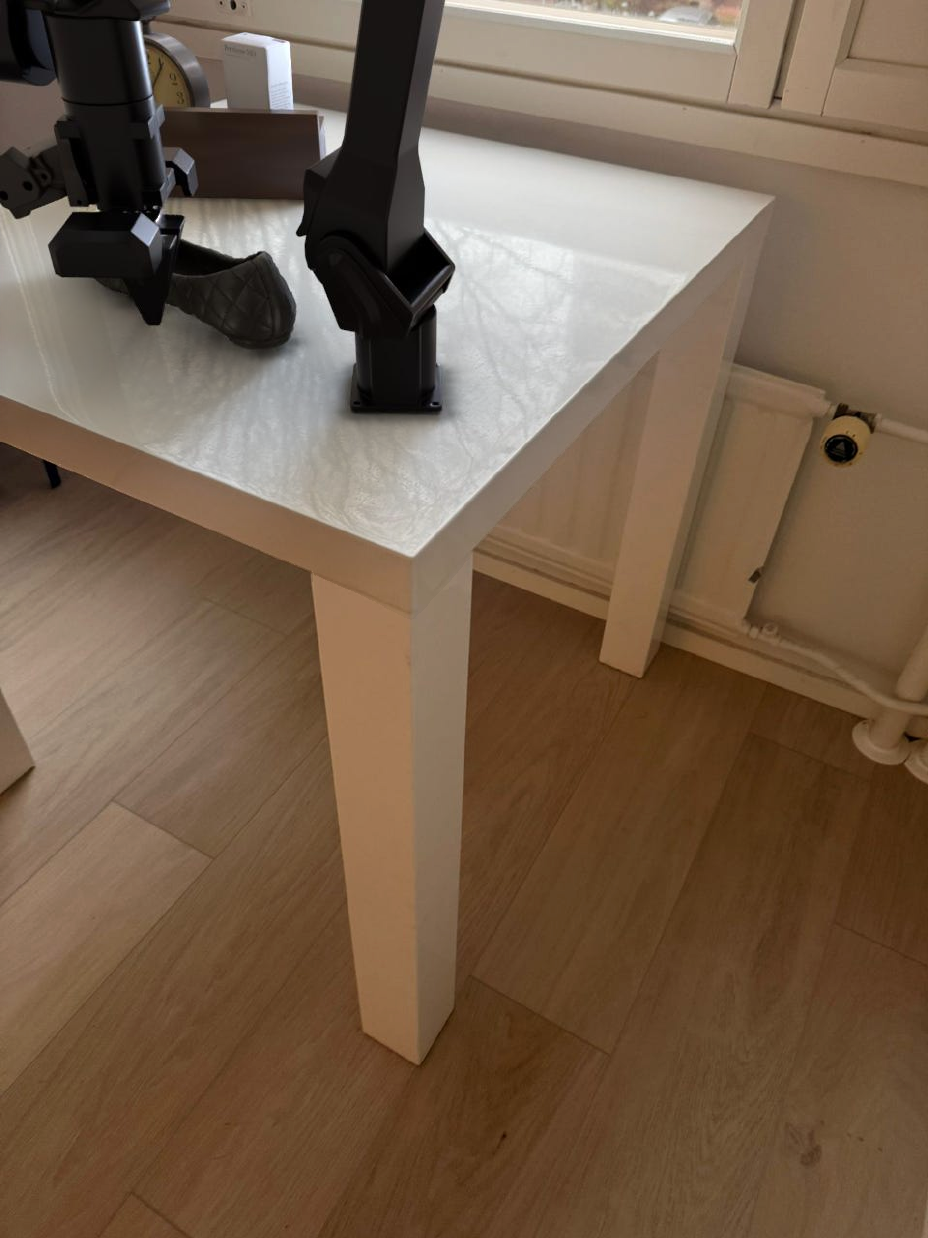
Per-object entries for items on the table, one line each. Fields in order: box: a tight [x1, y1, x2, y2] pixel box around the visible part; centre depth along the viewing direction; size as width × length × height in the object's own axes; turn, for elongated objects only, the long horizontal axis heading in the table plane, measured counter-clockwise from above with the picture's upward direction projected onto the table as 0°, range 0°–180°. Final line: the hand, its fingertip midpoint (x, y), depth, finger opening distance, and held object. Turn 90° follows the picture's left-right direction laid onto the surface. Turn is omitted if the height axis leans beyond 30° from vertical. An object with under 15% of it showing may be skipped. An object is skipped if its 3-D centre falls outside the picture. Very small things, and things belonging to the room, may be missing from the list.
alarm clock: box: [141, 16, 212, 108], centre depth 98 cm, size 11×5×16 cm, turn 73°
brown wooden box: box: [159, 107, 327, 200], centre depth 94 cm, size 7×20×8 cm, turn 93°
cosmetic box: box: [220, 31, 294, 110], centre depth 98 cm, size 6×4×12 cm
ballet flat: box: [78, 209, 298, 351], centre depth 74 cm, size 9×26×7 cm, turn 52°
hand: (154, 324), depth 70 cm, fingers closed
